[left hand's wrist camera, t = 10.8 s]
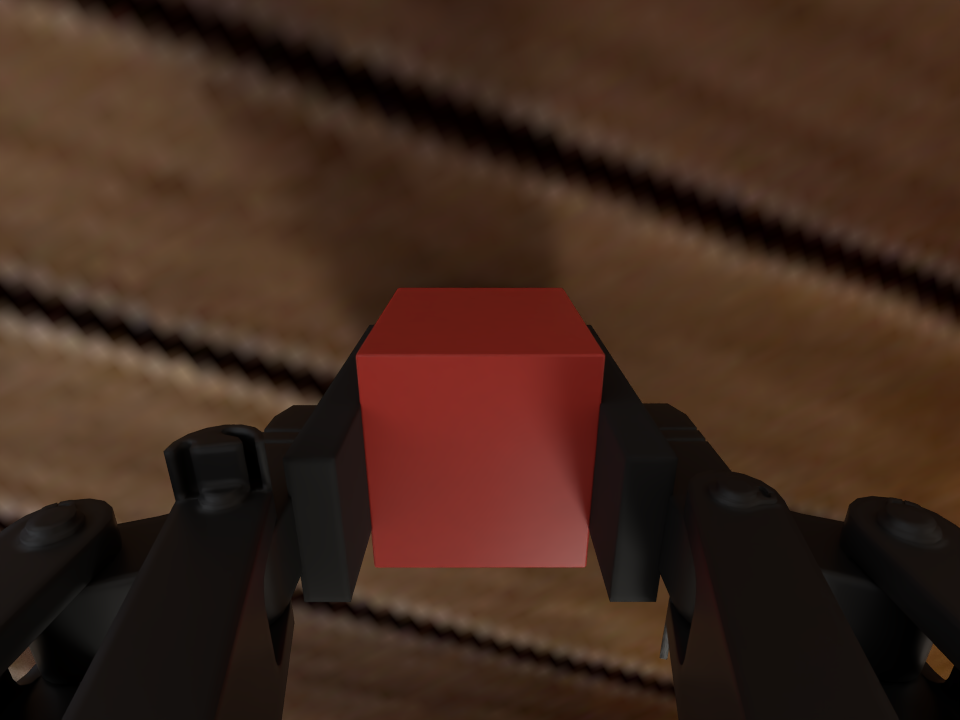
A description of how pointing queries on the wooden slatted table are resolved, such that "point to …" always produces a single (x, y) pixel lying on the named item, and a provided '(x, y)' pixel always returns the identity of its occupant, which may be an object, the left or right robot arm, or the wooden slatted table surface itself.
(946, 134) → the wooden slatted table surface
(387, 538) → the block
